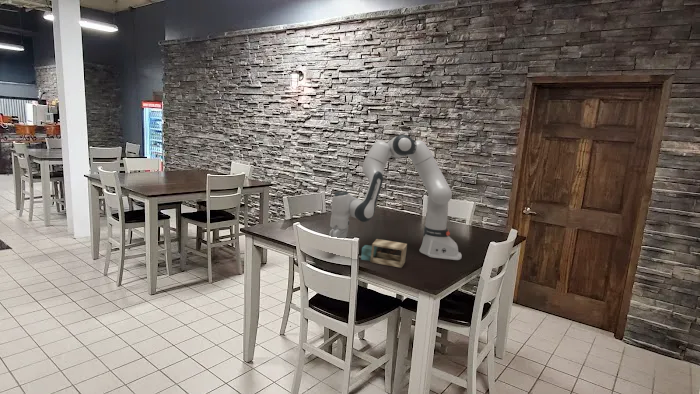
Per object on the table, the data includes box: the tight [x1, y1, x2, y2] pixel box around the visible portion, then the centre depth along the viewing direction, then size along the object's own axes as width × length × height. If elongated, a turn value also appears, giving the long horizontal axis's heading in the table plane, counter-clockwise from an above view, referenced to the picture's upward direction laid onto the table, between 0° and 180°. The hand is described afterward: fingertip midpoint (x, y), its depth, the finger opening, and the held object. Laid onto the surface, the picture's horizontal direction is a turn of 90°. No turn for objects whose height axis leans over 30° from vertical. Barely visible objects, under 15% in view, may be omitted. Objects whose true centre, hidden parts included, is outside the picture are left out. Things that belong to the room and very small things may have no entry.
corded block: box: [358, 244, 377, 262], centre depth 199 cm, size 19×6×6 cm, turn 72°
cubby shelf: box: [369, 238, 408, 269], centre depth 194 cm, size 16×10×9 cm, turn 73°
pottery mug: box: [377, 247, 398, 255], centre depth 206 cm, size 12×9×8 cm
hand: (336, 249), depth 202 cm, fingers open, 8 cm apart
